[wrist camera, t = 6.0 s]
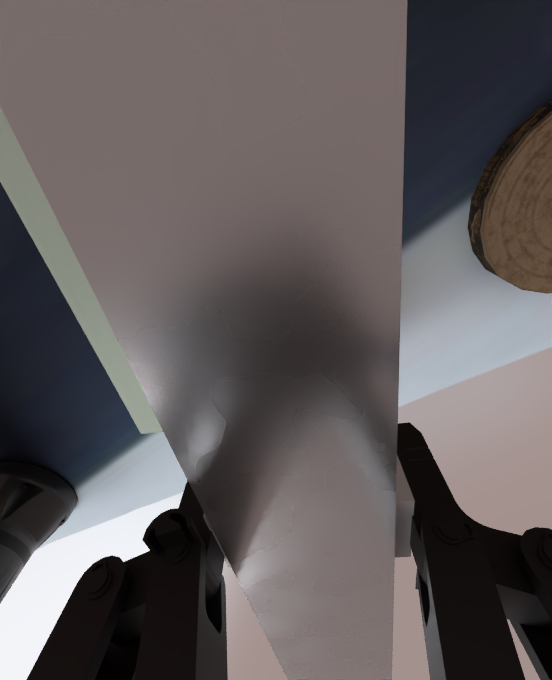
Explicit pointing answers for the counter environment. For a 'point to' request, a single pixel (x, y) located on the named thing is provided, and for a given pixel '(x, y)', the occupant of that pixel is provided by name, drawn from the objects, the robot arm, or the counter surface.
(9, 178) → the sage mat
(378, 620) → the steel rail
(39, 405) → the counter surface
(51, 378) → the counter surface
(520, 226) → the wooden log slice
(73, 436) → the counter surface
